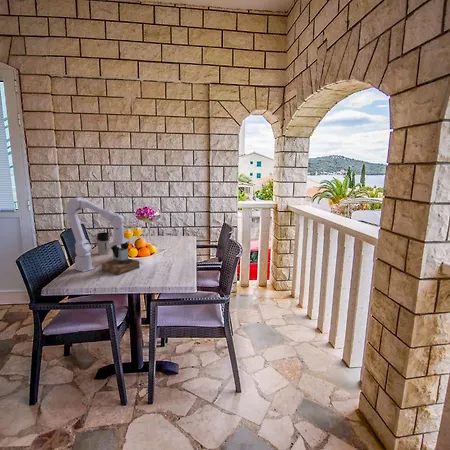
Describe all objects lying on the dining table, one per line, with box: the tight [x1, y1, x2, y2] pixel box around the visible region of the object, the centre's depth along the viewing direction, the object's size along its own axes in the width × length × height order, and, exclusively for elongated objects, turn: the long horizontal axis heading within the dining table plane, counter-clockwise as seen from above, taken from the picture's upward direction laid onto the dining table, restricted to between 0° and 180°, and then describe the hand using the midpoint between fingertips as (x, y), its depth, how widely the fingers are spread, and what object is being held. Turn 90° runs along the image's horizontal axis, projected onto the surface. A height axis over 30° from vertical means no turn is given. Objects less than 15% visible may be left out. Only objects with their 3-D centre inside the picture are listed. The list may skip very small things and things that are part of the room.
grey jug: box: [96, 231, 114, 256], centre depth 213 cm, size 9×14×15 cm, turn 71°
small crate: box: [112, 247, 128, 261], centre depth 179 cm, size 8×5×6 cm, turn 59°
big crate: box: [101, 258, 140, 275], centre depth 180 cm, size 16×15×4 cm
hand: (120, 256), depth 179 cm, fingers closed on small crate, 5 cm apart
